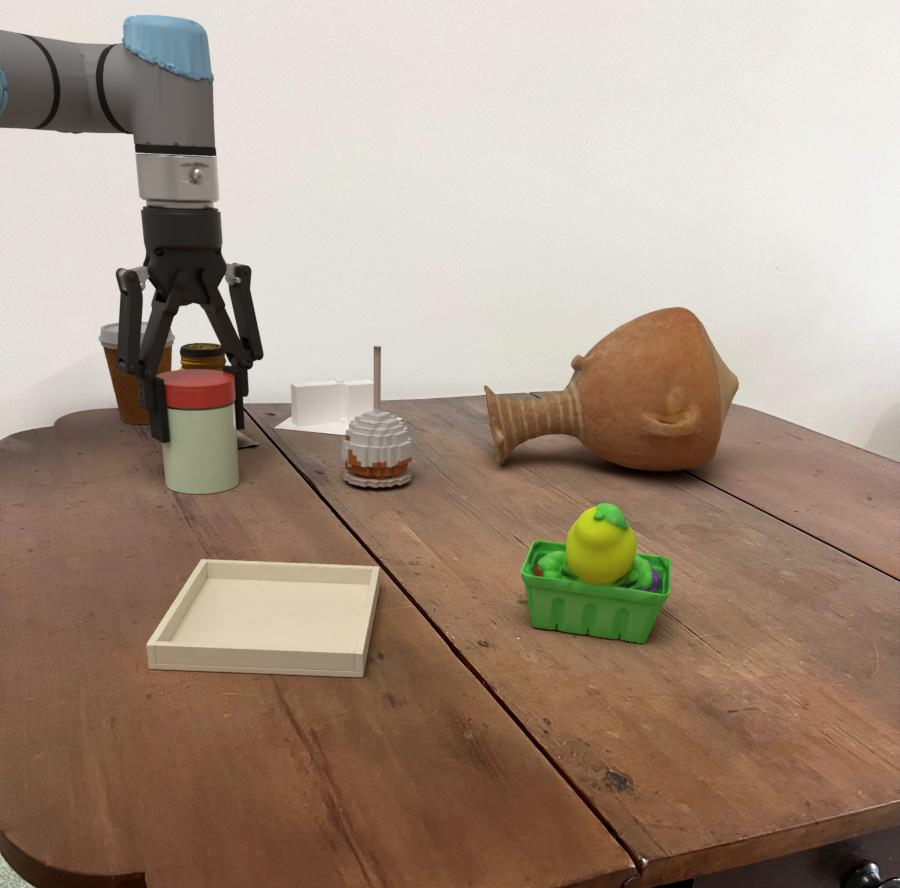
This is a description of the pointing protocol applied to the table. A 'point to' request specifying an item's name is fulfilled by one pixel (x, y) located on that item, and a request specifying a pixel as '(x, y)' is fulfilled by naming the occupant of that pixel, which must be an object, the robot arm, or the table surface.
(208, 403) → the lid
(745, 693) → the table surface
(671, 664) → the table surface
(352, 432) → the caramel apple
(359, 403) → the napkin holder
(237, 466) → the jar
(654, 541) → the table surface
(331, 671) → the tray
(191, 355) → the condiment
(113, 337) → the disposable coffee cup
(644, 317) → the jug
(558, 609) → the fruit basket
